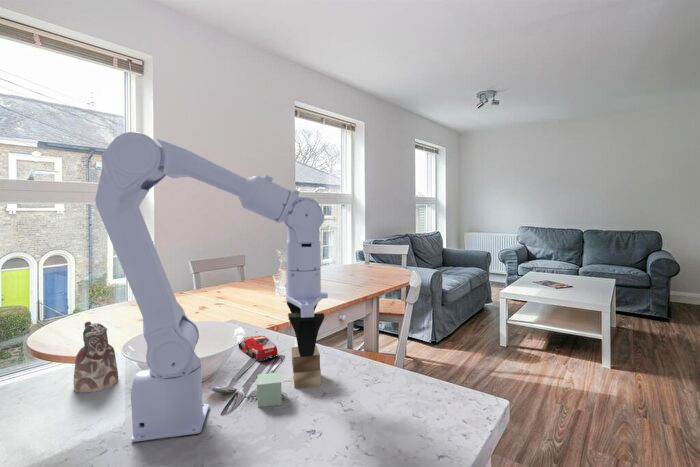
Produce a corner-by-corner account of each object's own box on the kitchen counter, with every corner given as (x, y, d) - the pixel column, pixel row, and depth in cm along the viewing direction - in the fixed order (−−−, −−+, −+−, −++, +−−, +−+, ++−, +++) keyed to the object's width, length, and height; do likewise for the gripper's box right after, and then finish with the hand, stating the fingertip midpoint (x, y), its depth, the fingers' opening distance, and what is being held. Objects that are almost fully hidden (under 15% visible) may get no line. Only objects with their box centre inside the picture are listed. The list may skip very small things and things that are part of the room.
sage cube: (257, 407, 63) (257, 384, 62) (258, 396, 67) (257, 374, 66) (281, 404, 63) (281, 382, 63) (281, 393, 67) (280, 372, 67)
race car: (235, 348, 91) (235, 332, 90) (256, 343, 94) (256, 327, 94) (258, 365, 80) (257, 347, 80) (280, 359, 83) (280, 341, 83)
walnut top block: (293, 372, 69) (293, 357, 69) (291, 362, 74) (291, 347, 74) (320, 370, 70) (319, 354, 70) (316, 359, 75) (316, 345, 75)
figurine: (79, 397, 67) (75, 331, 66) (69, 385, 72) (65, 324, 71) (123, 382, 72) (120, 322, 72) (111, 372, 77) (107, 315, 76)
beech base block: (294, 388, 69) (294, 373, 69) (292, 376, 74) (292, 362, 74) (321, 385, 70) (320, 370, 70) (317, 374, 75) (317, 359, 75)
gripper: (333, 275, 57) (334, 362, 57) (322, 262, 71) (322, 332, 72) (286, 276, 55) (288, 366, 56) (284, 263, 69) (285, 334, 70)
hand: (304, 347), depth 64 cm, fingers open, 7 cm apart
